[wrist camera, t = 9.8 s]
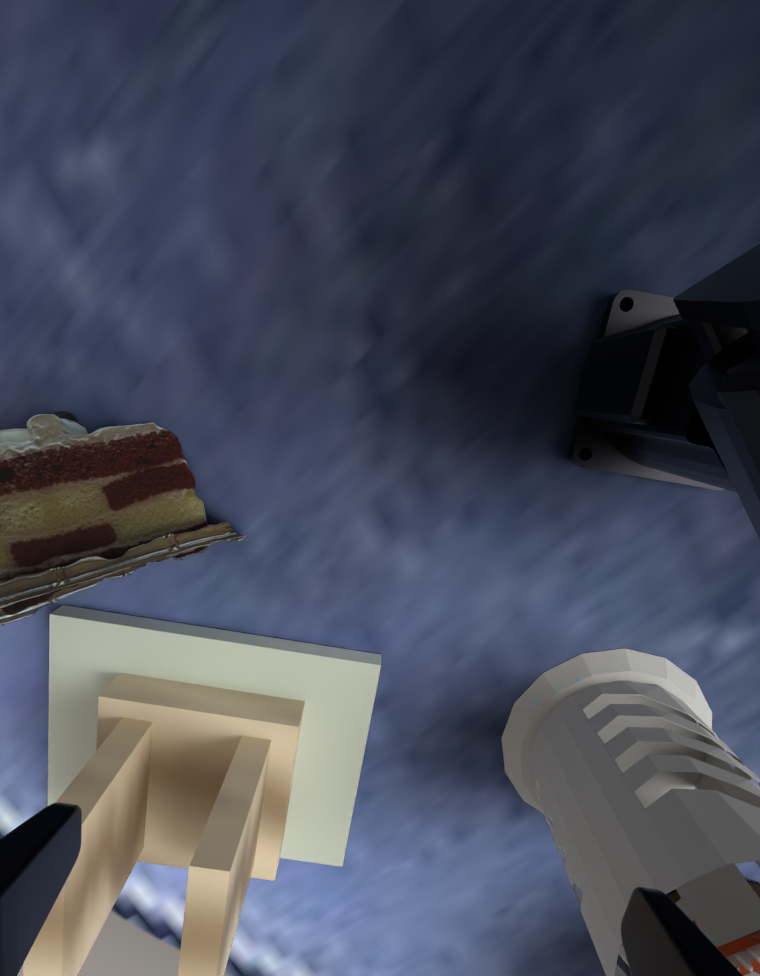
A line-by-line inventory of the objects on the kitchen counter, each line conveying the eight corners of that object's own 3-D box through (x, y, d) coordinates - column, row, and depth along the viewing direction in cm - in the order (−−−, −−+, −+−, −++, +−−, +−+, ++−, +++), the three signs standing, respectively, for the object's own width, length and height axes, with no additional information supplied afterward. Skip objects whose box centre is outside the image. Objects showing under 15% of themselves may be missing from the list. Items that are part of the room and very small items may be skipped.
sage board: (381, 654, 20) (381, 665, 19) (343, 849, 22) (342, 866, 21) (63, 605, 19) (49, 614, 18) (59, 809, 21) (47, 825, 21)
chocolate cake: (210, 366, 18) (-330, 364, 10) (262, 534, 17) (-271, 683, 9) (155, 448, 25) (-182, 487, 17) (190, 569, 24) (-143, 669, 16)
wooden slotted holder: (282, 846, 21) (238, 1045, 14) (112, 821, 21) (-8, 1014, 14) (305, 701, 19) (267, 854, 13) (120, 672, 19) (-12, 815, 13)
